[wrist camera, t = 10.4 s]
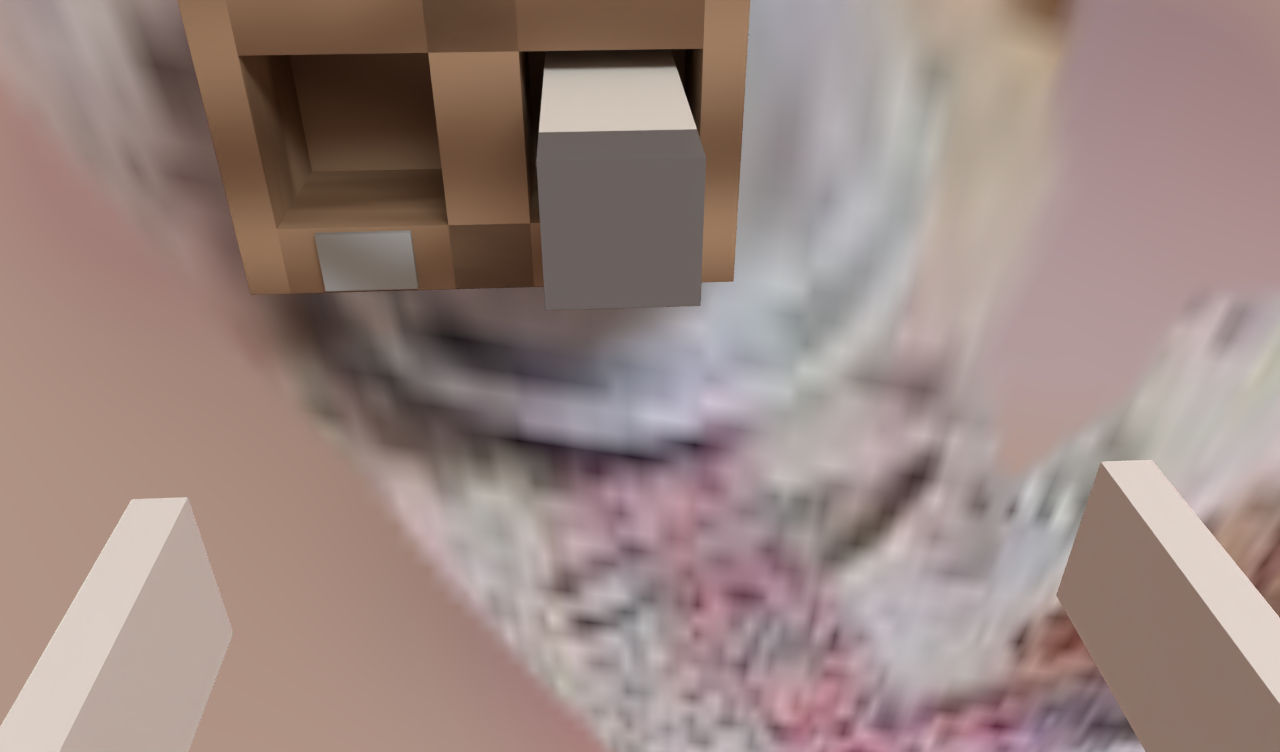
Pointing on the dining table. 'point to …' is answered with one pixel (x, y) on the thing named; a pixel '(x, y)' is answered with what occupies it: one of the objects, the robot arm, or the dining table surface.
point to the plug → (619, 182)
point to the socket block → (429, 130)
